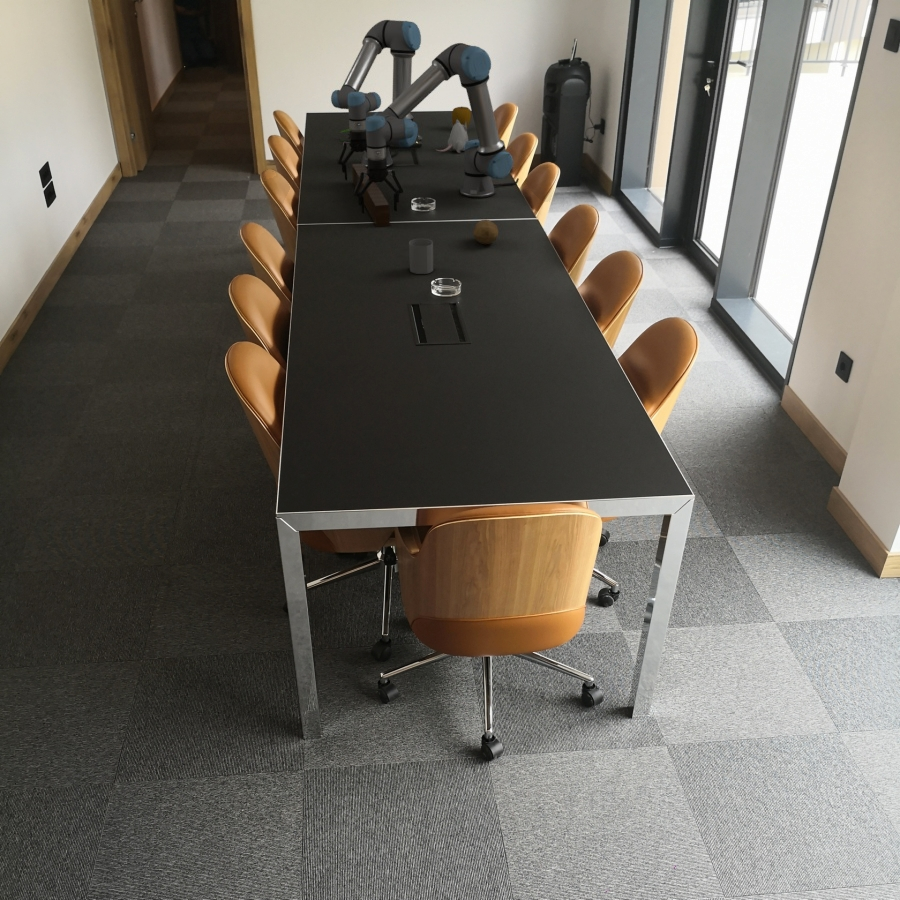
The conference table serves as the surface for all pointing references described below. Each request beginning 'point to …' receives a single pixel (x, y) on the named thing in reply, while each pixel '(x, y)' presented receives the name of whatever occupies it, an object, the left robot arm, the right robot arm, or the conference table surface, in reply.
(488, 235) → the potato
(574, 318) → the conference table surface
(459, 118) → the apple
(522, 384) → the conference table surface
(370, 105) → the left robot arm
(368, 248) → the conference table surface
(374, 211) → the beam
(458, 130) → the toy
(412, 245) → the cup
